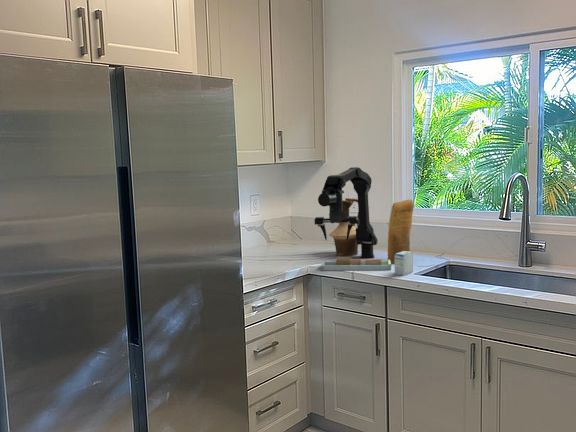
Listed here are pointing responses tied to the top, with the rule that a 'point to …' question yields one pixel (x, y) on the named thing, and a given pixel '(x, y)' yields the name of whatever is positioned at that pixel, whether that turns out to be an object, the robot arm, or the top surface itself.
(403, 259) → the medicine box
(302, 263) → the top surface
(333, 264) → the trap box
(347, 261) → the block
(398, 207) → the pancake mix bag
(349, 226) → the robot arm
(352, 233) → the pitcher
